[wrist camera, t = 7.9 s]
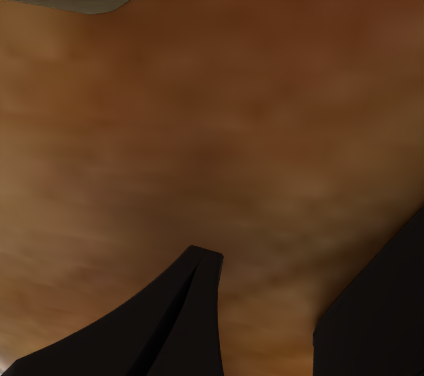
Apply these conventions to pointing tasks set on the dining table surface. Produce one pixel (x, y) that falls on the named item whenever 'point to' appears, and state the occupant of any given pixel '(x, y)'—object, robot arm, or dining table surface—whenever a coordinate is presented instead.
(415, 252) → the film camera
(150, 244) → the dining table surface
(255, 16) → the dining table surface
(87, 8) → the cork
